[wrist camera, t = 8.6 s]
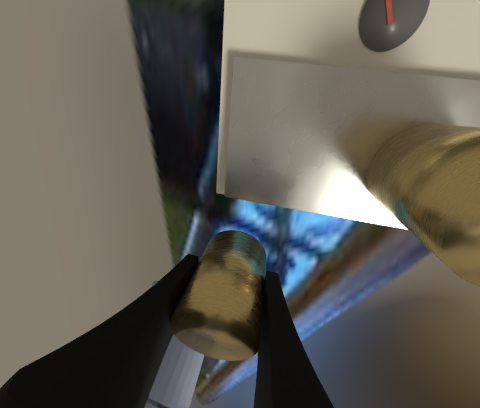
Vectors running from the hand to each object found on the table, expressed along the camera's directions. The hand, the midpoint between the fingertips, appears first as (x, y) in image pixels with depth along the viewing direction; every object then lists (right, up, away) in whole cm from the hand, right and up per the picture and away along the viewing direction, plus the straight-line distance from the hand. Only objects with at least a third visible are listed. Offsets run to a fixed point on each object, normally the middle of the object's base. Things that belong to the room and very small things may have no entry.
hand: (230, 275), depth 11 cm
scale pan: (+6, +7, -1) cm, 9 cm away
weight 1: (0, +1, +1) cm, 2 cm away
